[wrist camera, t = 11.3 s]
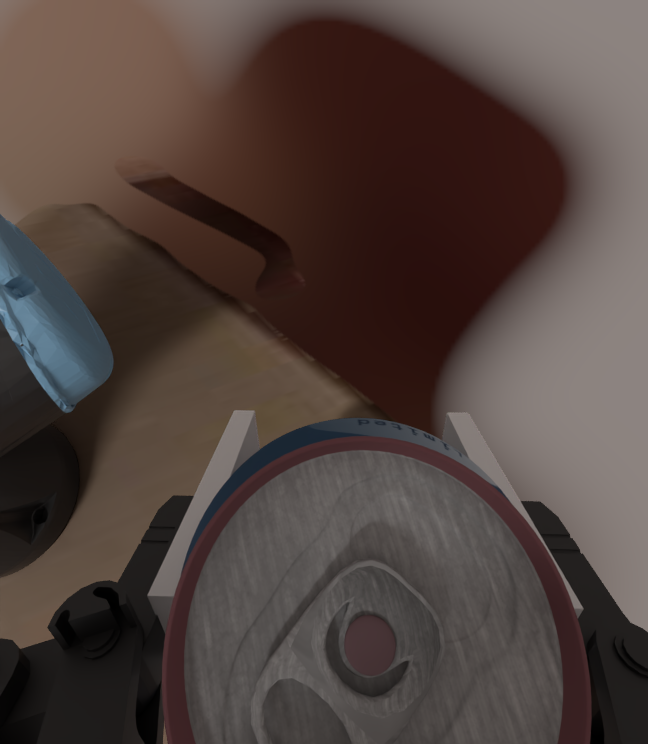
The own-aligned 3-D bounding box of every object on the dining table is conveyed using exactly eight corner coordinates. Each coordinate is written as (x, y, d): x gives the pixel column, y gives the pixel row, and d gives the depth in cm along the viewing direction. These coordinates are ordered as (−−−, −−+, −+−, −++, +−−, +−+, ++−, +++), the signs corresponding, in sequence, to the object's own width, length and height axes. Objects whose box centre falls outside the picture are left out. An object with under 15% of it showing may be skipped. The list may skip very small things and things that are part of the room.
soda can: (338, 424, 18) (341, 319, 6) (451, 522, 16) (742, 627, 5) (241, 536, 16) (9, 673, 5) (356, 656, 15) (429, 1292, 3)
